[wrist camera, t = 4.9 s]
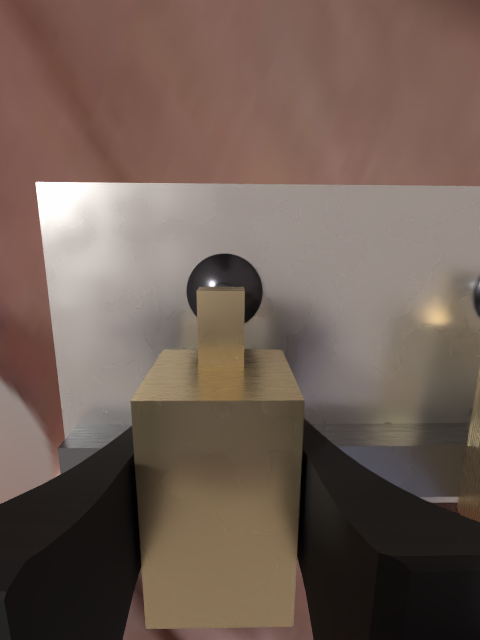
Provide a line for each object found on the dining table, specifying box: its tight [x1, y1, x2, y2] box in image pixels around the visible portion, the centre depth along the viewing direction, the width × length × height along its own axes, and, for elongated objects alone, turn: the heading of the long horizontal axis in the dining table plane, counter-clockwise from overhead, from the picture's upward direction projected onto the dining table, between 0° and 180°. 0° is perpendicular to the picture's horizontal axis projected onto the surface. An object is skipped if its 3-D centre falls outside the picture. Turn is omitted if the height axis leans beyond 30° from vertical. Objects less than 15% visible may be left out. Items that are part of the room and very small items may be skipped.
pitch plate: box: [36, 182, 480, 522], centre depth 11 cm, size 12×20×7 cm, turn 90°
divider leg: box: [130, 282, 305, 629], centre depth 10 cm, size 8×4×5 cm, turn 0°
